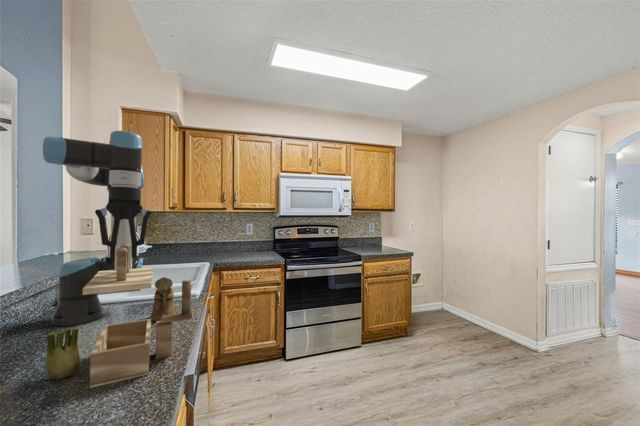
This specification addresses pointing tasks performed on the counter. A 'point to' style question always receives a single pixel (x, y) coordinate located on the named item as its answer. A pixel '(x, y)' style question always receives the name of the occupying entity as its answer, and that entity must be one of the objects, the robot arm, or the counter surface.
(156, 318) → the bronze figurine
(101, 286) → the lid
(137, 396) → the counter surface
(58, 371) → the fennel bulb
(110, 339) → the toolbox
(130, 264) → the robot arm
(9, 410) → the counter surface
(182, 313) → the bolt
